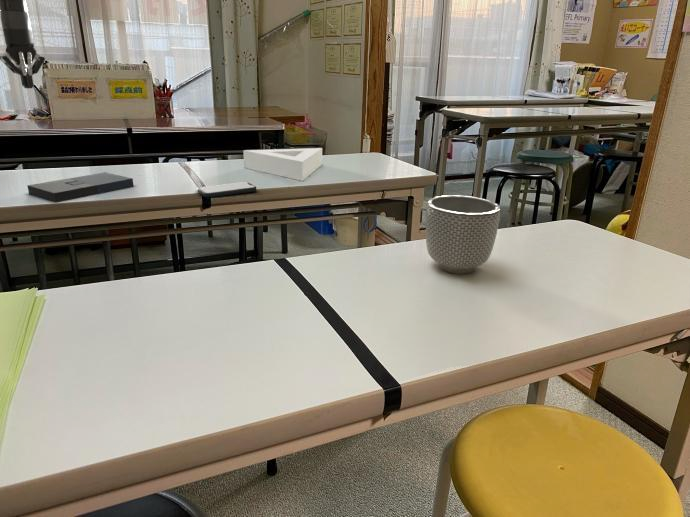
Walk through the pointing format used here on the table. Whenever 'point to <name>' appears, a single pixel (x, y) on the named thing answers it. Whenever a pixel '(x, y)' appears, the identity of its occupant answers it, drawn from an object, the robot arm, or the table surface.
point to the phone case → (226, 189)
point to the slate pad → (104, 181)
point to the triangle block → (284, 161)
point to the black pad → (61, 190)
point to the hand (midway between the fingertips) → (28, 88)
